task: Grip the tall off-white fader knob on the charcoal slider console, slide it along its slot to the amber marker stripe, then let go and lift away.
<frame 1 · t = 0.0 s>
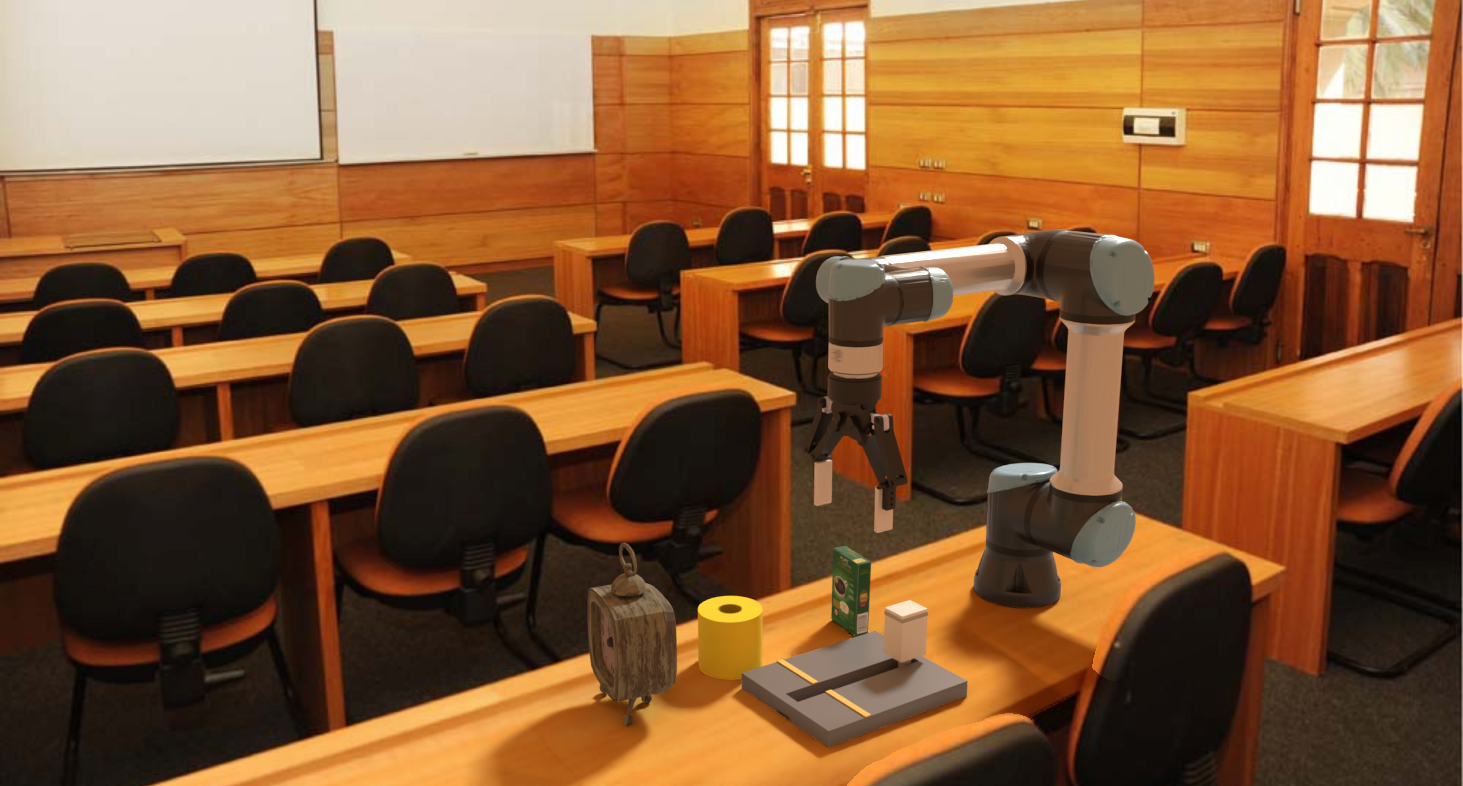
hand: (852, 516, 181), 28 cm above the table, fingers open, 13 cm apart
coffee box: (850, 628, 211), on the table
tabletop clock: (634, 706, 185), on the table
fader knob: (905, 639, 193), point 6 cm above the table, slide at 0.0 cm
fader console: (853, 692, 189), on the table
yellow toilet paper roll: (730, 666, 198), on the table
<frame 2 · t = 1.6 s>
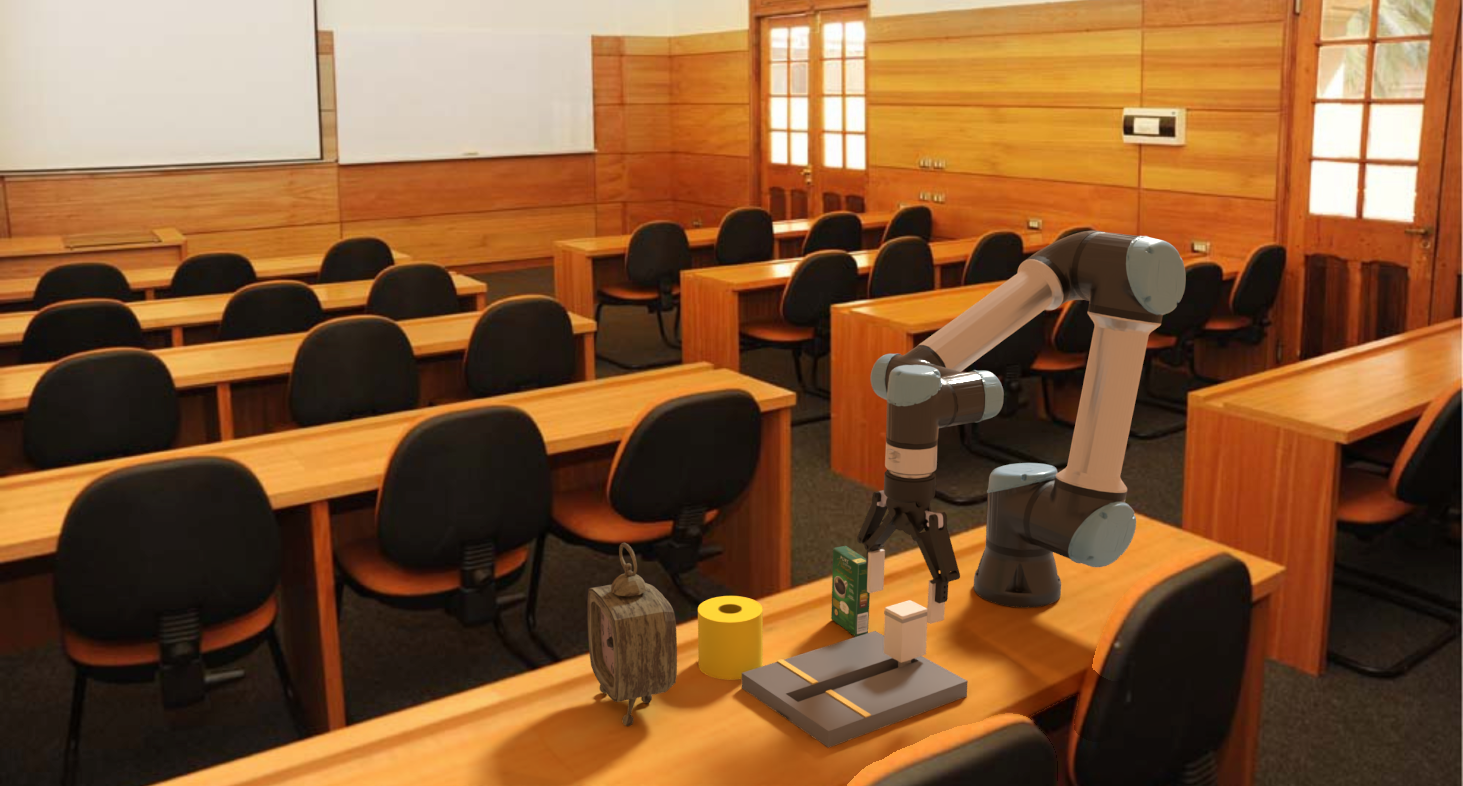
hand: (904, 605, 191), 11 cm above the table, fingers open, 13 cm apart
nothing on the table moved.
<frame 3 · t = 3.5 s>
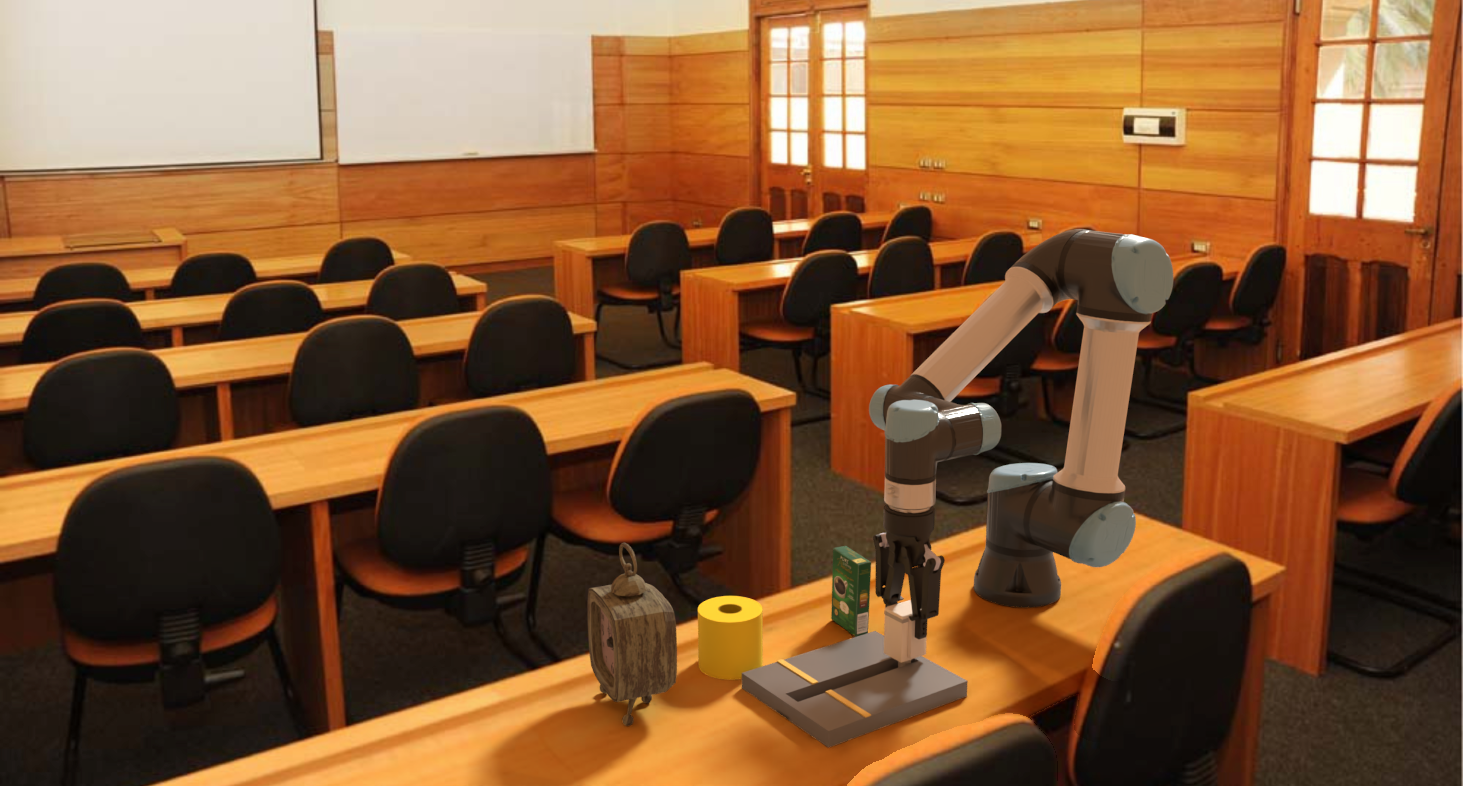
hand: (904, 649, 193), 4 cm above the table, fingers closed on fader knob, 4 cm apart
fader knob: (905, 639, 193), point 6 cm above the table, slide at 0.0 cm, touching gripper
everything else where it was.
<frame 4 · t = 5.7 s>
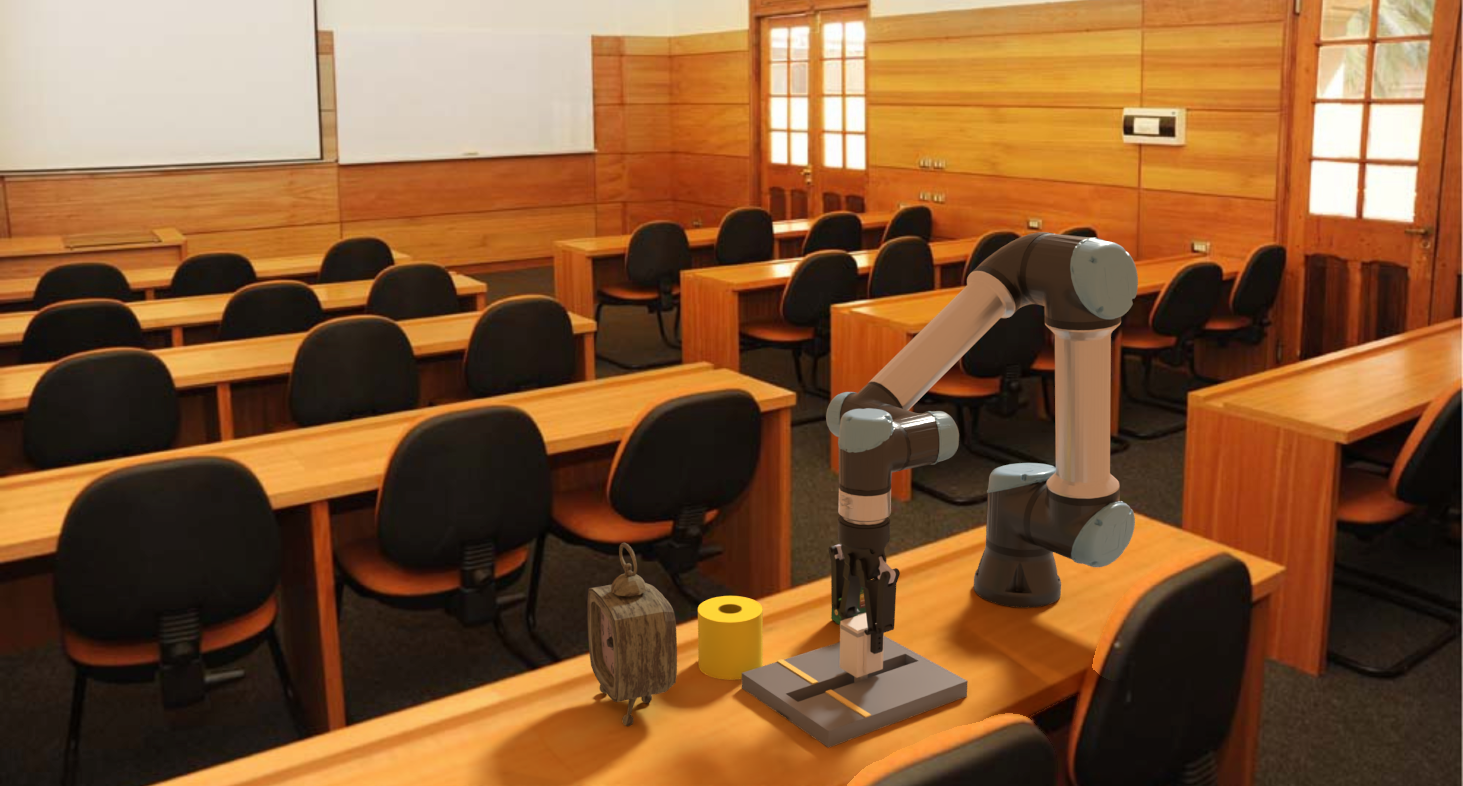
hand: (861, 664, 188), 4 cm above the table, fingers closed on fader knob, 4 cm apart
fader knob: (861, 653, 188), point 6 cm above the table, slide at 8.6 cm, touching gripper
everything else where it was.
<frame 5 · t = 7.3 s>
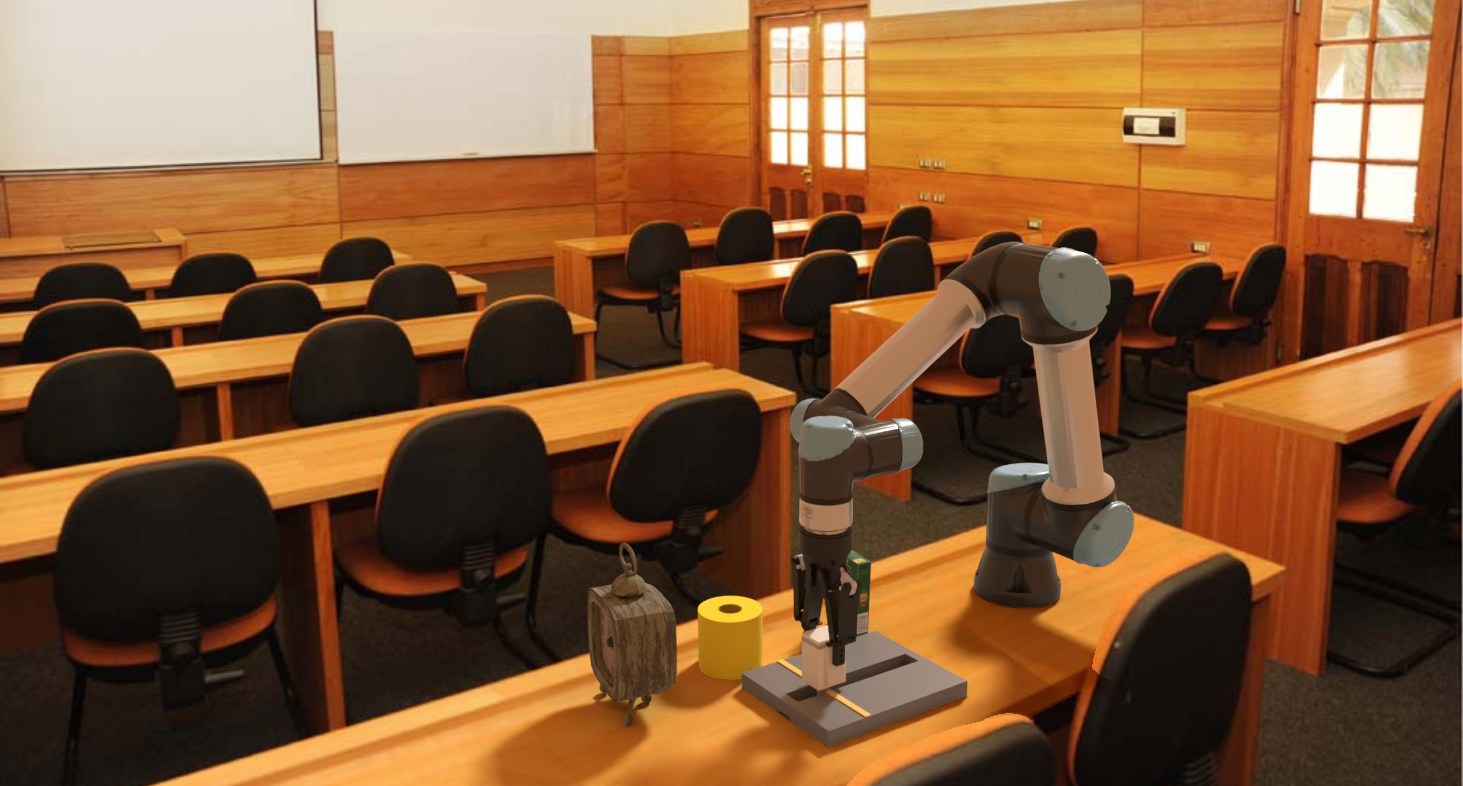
hand: (823, 676, 185), 4 cm above the table, fingers closed on fader knob, 4 cm apart
fader knob: (823, 665, 184), point 6 cm above the table, slide at 15.7 cm, touching gripper
everything else where it was.
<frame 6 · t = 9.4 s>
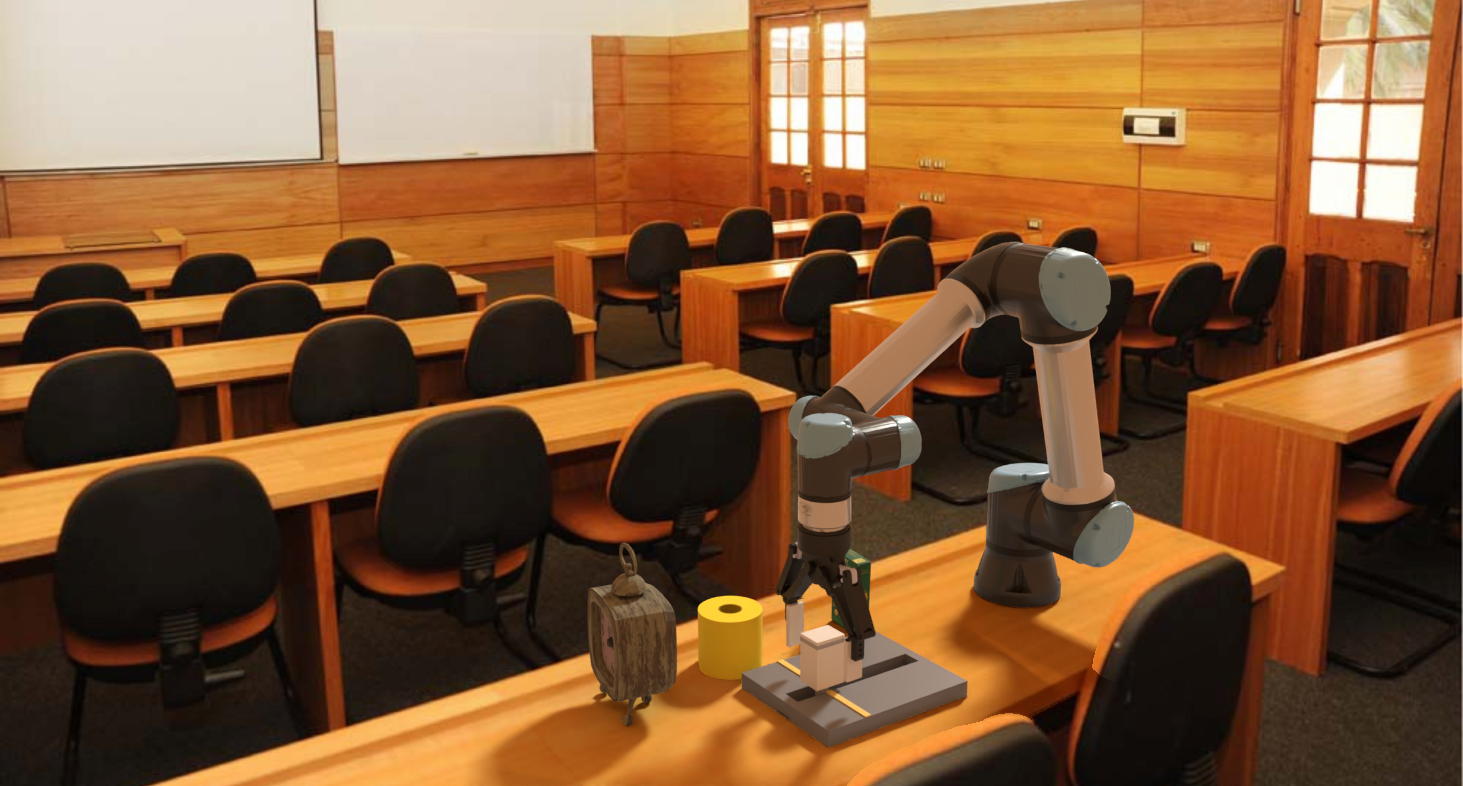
hand: (823, 661, 184), 7 cm above the table, fingers open, 13 cm apart
fader knob: (822, 666, 184), point 6 cm above the table, slide at 16.0 cm
everything else where it was.
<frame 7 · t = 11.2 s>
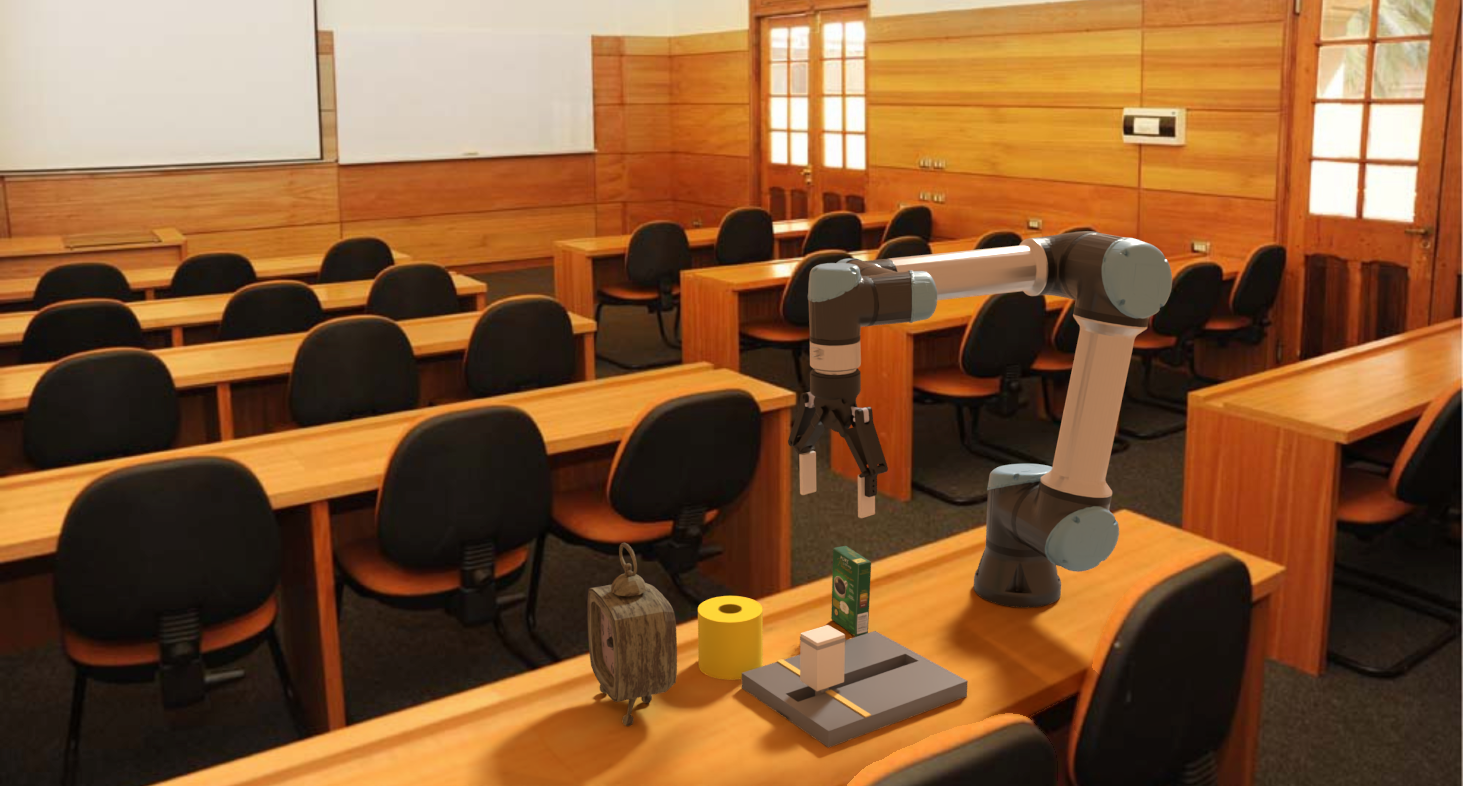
hand: (836, 504, 193), 26 cm above the table, fingers open, 13 cm apart
nothing on the table moved.
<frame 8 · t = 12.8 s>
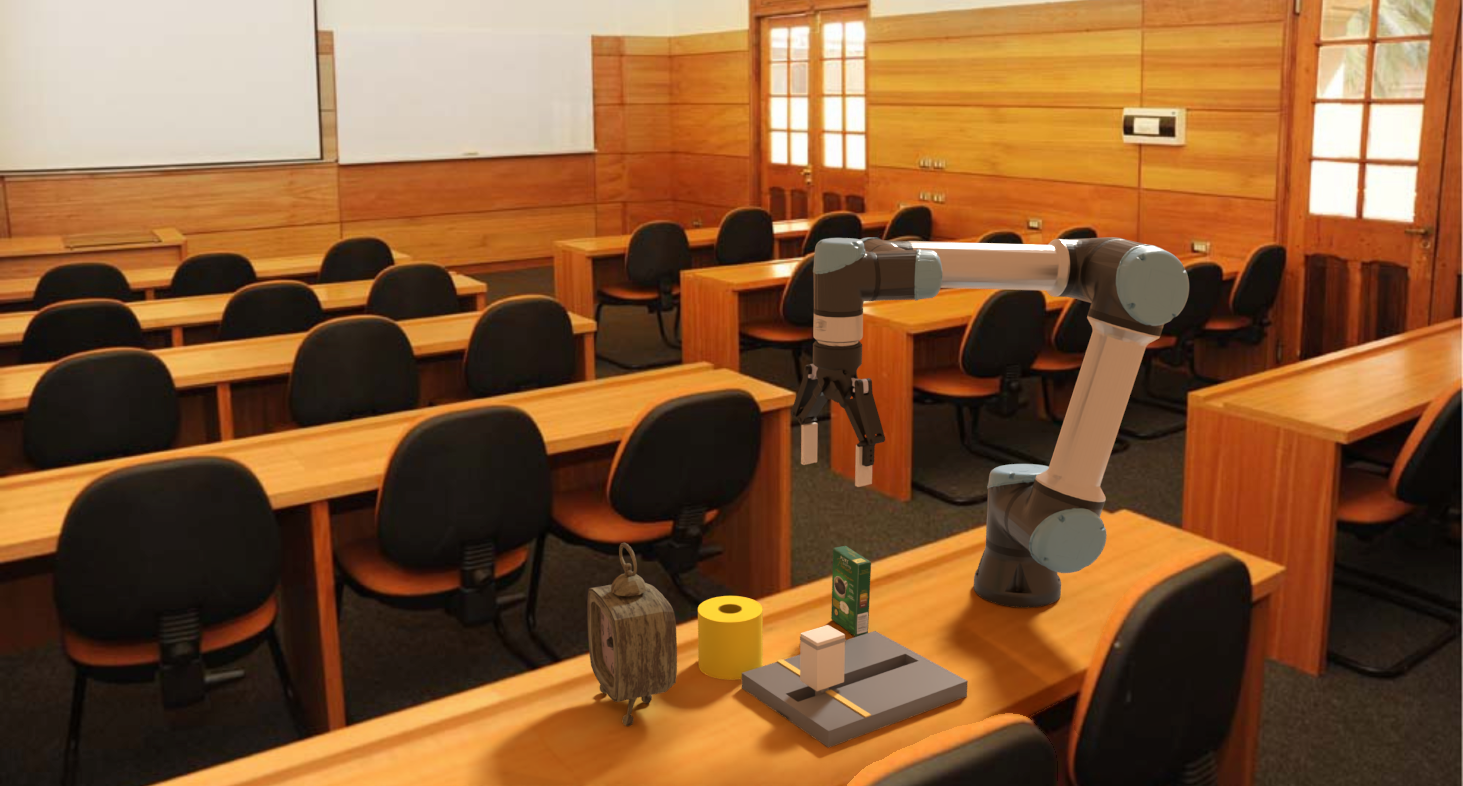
hand: (835, 473, 198), 29 cm above the table, fingers open, 13 cm apart
nothing on the table moved.
at the end: fader knob slide at 16.0 cm; the gripper is holding nothing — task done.
